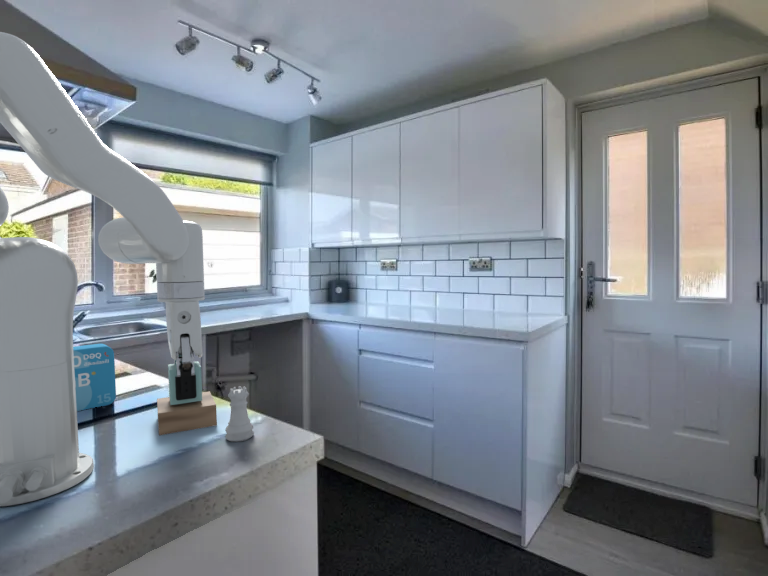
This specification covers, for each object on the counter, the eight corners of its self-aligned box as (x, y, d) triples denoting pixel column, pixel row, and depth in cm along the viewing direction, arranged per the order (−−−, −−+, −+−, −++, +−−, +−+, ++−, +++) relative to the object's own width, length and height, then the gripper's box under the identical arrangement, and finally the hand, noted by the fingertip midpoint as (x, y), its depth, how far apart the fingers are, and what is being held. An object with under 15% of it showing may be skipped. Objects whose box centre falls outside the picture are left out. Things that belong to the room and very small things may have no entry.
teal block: (202, 400, 77) (201, 366, 77) (170, 405, 75) (169, 370, 75) (199, 393, 82) (198, 361, 81) (169, 397, 79) (168, 364, 79)
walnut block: (216, 427, 77) (216, 404, 77) (159, 437, 73) (158, 413, 72) (210, 411, 85) (209, 391, 85) (157, 420, 81) (157, 398, 80)
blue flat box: (42, 418, 81) (38, 354, 80) (39, 412, 85) (35, 350, 84) (116, 403, 89) (113, 345, 89) (111, 398, 93) (108, 342, 92)
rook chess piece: (221, 436, 72) (219, 388, 71) (247, 429, 75) (246, 383, 74) (231, 445, 68) (229, 394, 68) (258, 437, 71) (257, 388, 71)
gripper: (210, 294, 72) (214, 404, 73) (199, 289, 87) (202, 380, 88) (158, 296, 68) (163, 412, 69) (156, 290, 83) (160, 385, 84)
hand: (185, 393), depth 78 cm, fingers closed on teal block, 5 cm apart
